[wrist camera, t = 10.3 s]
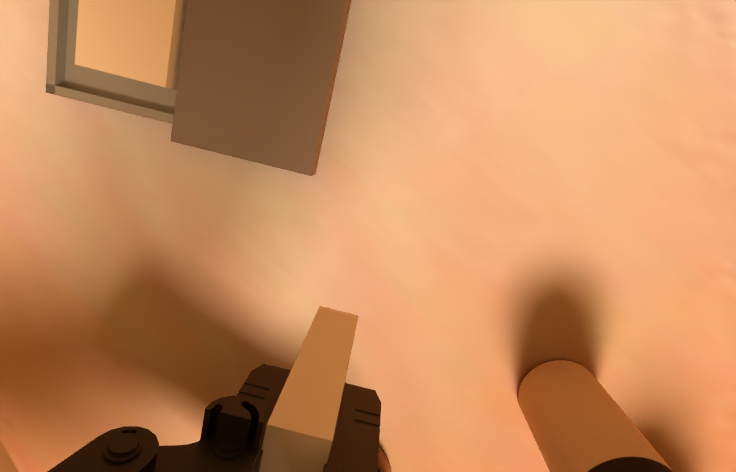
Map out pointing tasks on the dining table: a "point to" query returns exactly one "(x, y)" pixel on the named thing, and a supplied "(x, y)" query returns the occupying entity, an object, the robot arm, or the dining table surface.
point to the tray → (97, 73)
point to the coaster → (132, 38)
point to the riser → (259, 78)
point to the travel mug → (582, 423)
